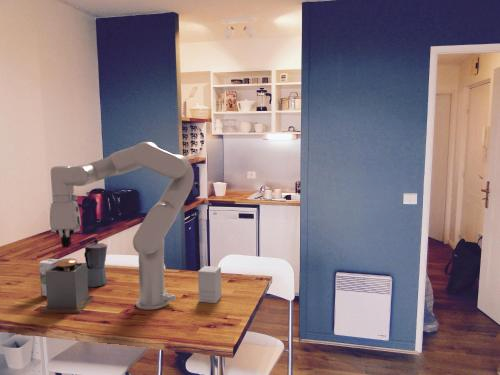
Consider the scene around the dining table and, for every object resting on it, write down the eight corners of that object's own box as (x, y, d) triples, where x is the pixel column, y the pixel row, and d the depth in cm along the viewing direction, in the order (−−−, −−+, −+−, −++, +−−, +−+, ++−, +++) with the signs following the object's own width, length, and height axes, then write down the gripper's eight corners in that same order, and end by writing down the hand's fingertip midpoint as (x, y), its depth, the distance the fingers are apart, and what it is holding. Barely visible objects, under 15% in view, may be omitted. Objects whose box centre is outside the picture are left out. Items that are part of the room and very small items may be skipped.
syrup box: (62, 292, 176) (60, 259, 174) (52, 297, 170) (50, 263, 169) (51, 291, 178) (49, 257, 176) (40, 296, 172) (38, 261, 170)
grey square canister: (93, 298, 170) (92, 261, 168) (79, 312, 156) (77, 273, 154) (59, 298, 170) (57, 261, 168) (41, 312, 156) (39, 272, 154)
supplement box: (221, 296, 172) (221, 266, 170) (215, 303, 165) (215, 272, 163) (204, 295, 174) (204, 265, 172) (198, 301, 166) (197, 270, 165)
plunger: (82, 292, 166) (80, 258, 165) (74, 300, 159) (72, 264, 157) (62, 292, 166) (61, 258, 165) (53, 300, 159) (51, 264, 157)
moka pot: (114, 279, 193) (112, 236, 190) (98, 291, 178) (96, 245, 175) (94, 278, 194) (92, 236, 191) (77, 290, 179) (74, 244, 176)
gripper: (87, 197, 162) (90, 244, 164) (48, 197, 162) (52, 244, 164) (79, 200, 154) (82, 249, 156) (38, 200, 154) (42, 249, 157)
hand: (66, 246), depth 160 cm, fingers closed
